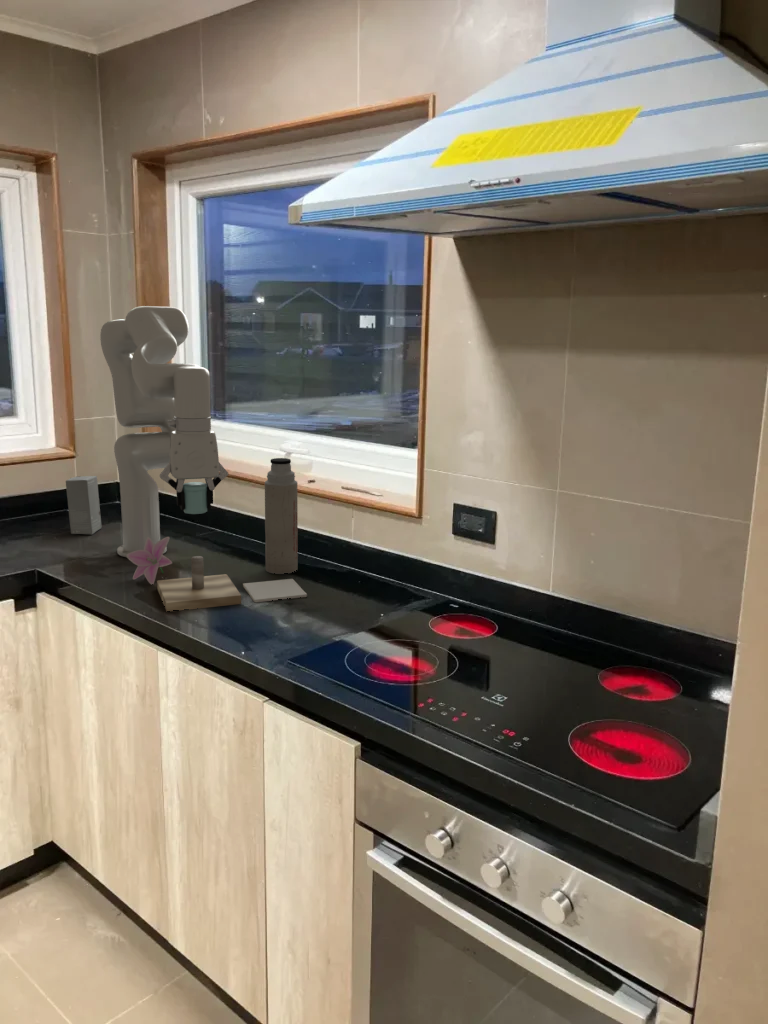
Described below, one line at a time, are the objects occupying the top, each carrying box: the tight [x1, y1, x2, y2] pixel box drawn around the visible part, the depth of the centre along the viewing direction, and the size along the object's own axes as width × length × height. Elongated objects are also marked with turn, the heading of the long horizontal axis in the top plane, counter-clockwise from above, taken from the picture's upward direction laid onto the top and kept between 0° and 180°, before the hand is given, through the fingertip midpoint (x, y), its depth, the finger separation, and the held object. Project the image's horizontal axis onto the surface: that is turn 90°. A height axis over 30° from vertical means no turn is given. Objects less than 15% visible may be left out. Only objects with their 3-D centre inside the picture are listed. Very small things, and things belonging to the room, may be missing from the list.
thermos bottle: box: [264, 457, 299, 575], centre depth 203 cm, size 8×8×28 cm
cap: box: [183, 481, 208, 515], centre depth 180 cm, size 5×5×6 cm
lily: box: [126, 536, 173, 585], centre depth 197 cm, size 12×12×10 cm
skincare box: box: [65, 475, 102, 535], centre depth 236 cm, size 8×7×16 cm
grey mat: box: [242, 578, 308, 603], centre depth 189 cm, size 12×12×1 cm
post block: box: [156, 555, 242, 612], centre depth 184 cm, size 16×16×9 cm
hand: (195, 507), depth 181 cm, fingers closed on cap, 4 cm apart
